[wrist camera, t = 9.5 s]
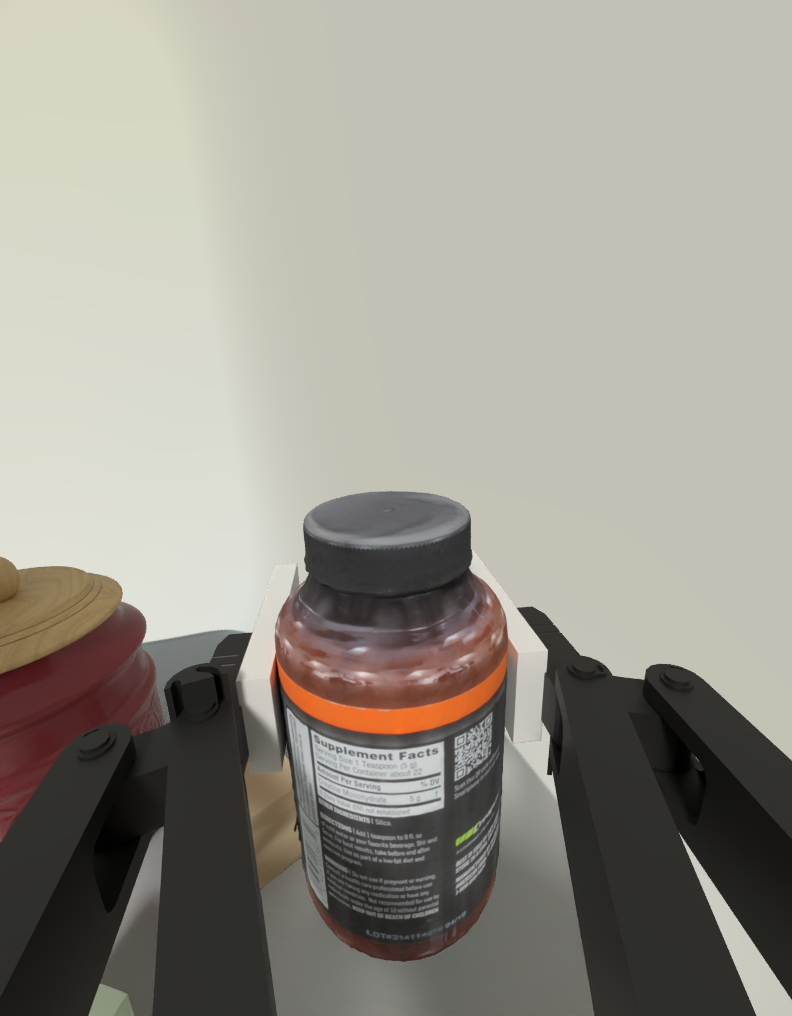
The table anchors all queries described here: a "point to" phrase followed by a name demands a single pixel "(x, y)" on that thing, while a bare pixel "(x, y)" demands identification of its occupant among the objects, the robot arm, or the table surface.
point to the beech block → (273, 821)
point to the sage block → (111, 1003)
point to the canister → (65, 671)
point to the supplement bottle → (394, 721)
